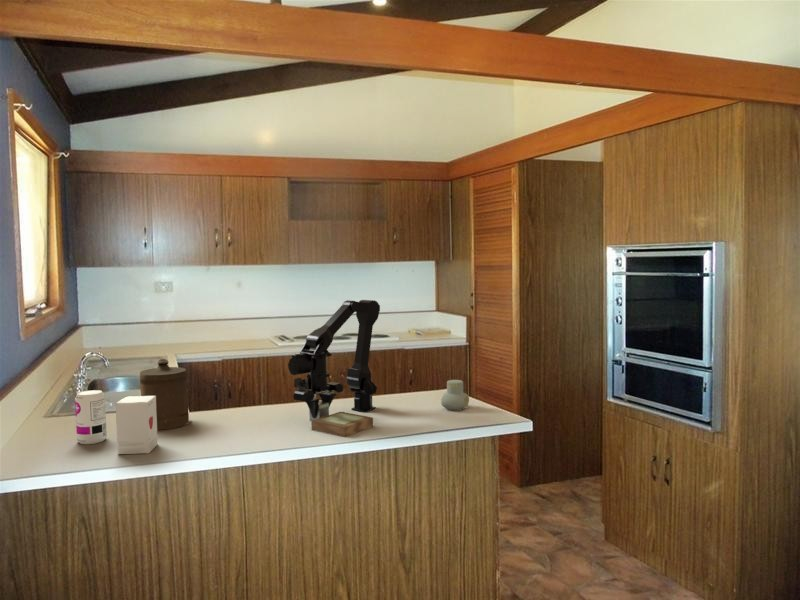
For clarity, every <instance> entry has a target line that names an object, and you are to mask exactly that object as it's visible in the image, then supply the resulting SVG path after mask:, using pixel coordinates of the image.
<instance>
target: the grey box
mask: <svg viewBox="0 0 800 600" xmlns="http://www.w3.org/2000/svg"><path fill="white" fill-rule="evenodd" d="M329 409H330V407H329V402H323V401H322V400H319V403H318V409H317V415H316V418H313V417H312V415H311V412H310V410H309V409H308V410H309V411H308V412H309V422H311V421H312V420H315V419H318V418H322V417H325V416H328V415H330V410H329Z"/></svg>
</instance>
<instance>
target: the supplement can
mask: <svg viewBox="0 0 800 600" xmlns="http://www.w3.org/2000/svg"><path fill="white" fill-rule="evenodd" d="M74 404H75V405H74V409H75V425H76V426H75V428H76V441H77V442H78V443H79V444H81V445H94V444H98V443H99V444H100V443H102V442H103V441H105V440H106V439H107V437H108V436H107V435H108V434H107V433H108V432H107V417H106V416H107V415H106V396H105V394H104V392H103V391H102V390H99V389H93V390H89V389H88V390H83V391H79V392H77V393H76V396H75V398H74Z"/></svg>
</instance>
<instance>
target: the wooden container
mask: <svg viewBox="0 0 800 600" xmlns="http://www.w3.org/2000/svg"><path fill="white" fill-rule="evenodd" d="M187 382H188V381H187V369H186V368H184V367H180V366H170V365H169V361H168V359H166V358H160V359H159V360H157V367H154V368H153V367H152V368H148V369H147V368H146V369H144V370H141V371H140V372H139V385H140V386H139V390H140V392H139V393H140V395H139V396H156V415H157V431H163V430H171V429H172V430H173V429H177V428H180V427H183V426H186V425H188V424H189V422H190V419H189V415H190V414H189V397H188V385H187Z"/></svg>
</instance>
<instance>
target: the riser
mask: <svg viewBox="0 0 800 600" xmlns="http://www.w3.org/2000/svg"><path fill="white" fill-rule="evenodd" d="M310 422H311V430H312V431H314V432H315V431H316V432H319V433H323V434H324V433H325V434H328V435H335V436H340V437H342V438H343V437H344V438H346V437H348V436H351V435H354V434H356V433H359V431H360V432H362V431H365V430H367V429H368V430H369V428H373V427H374V417H372V416H367V415H363V414H362V415H361V414H356V413H351V412H345V411H338V412H335V413H332V414H329V415H328V416H325V417H322V418H318V419H315V420H312V421H310Z"/></svg>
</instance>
